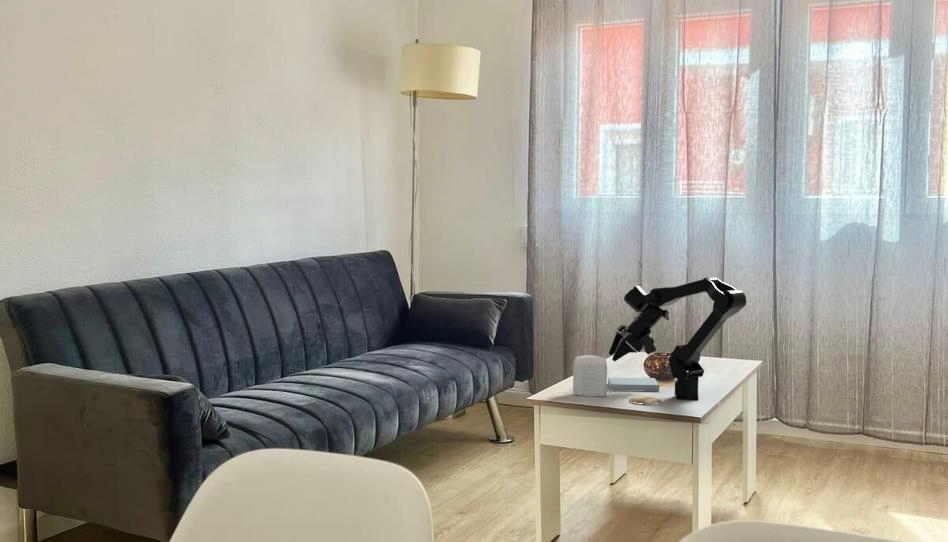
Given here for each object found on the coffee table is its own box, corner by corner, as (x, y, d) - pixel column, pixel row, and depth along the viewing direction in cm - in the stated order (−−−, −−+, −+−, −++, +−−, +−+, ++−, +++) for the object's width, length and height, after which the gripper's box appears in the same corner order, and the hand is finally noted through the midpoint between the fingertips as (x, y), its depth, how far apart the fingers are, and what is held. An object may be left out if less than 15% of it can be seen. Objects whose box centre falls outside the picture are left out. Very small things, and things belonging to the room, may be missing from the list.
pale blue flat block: (654, 384, 298) (654, 378, 298) (659, 391, 287) (659, 385, 287) (607, 383, 299) (608, 377, 299) (610, 390, 288) (610, 384, 288)
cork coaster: (661, 399, 276) (661, 397, 276) (660, 405, 267) (660, 403, 267) (631, 397, 278) (631, 395, 278) (628, 404, 269) (628, 402, 269)
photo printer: (607, 394, 283) (607, 354, 282) (606, 397, 278) (607, 357, 277) (573, 393, 285) (573, 353, 284) (572, 396, 280) (572, 355, 279)
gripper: (670, 344, 279) (634, 381, 280) (659, 332, 297) (626, 367, 299) (643, 319, 278) (607, 357, 280) (634, 309, 297) (601, 345, 298)
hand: (611, 357), depth 289 cm, fingers open, 9 cm apart
